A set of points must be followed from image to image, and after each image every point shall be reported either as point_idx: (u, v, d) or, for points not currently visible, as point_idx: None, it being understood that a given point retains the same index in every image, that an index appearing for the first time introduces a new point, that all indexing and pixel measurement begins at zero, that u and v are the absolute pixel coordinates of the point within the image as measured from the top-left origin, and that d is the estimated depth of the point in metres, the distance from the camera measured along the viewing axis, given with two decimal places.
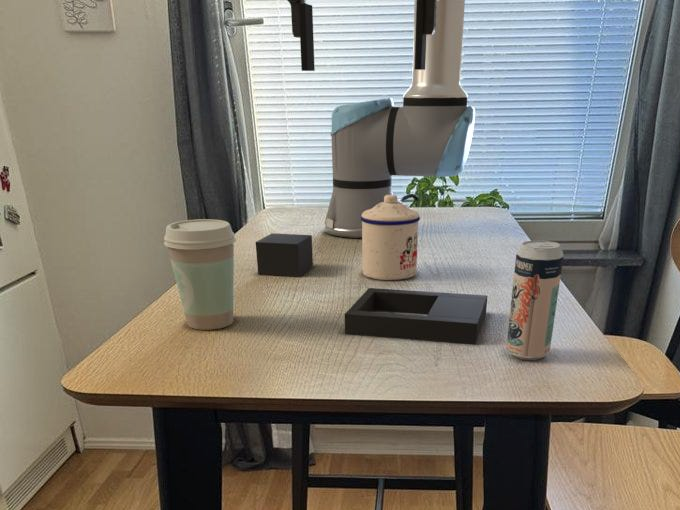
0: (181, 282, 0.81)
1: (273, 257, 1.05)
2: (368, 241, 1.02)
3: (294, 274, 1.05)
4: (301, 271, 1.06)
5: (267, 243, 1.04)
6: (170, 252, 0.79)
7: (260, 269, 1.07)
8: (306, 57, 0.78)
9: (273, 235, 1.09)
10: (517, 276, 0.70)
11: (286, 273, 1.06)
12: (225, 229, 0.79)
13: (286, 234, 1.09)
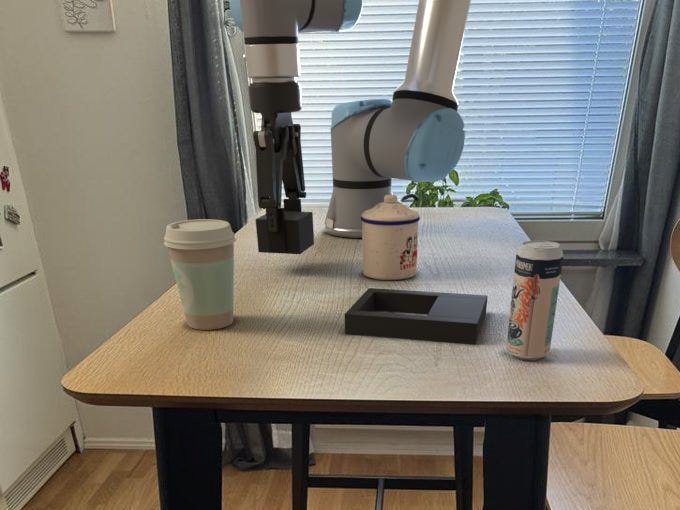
0: (181, 282, 0.81)
1: None
2: (368, 241, 1.02)
3: (295, 251, 1.04)
4: (302, 248, 1.05)
5: None
6: (170, 252, 0.79)
7: (260, 247, 1.05)
8: None
9: None
10: (517, 276, 0.70)
11: None
12: (225, 229, 0.79)
13: (286, 211, 1.08)
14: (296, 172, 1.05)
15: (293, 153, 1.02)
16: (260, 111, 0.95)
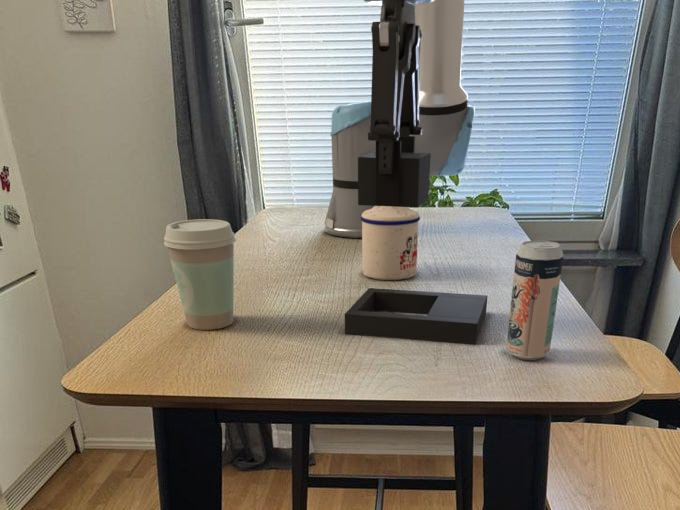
0: (181, 282, 0.81)
1: None
2: (368, 241, 1.02)
3: (410, 204, 0.75)
4: (419, 200, 0.76)
5: (375, 158, 0.74)
6: (170, 252, 0.79)
7: (362, 197, 0.76)
8: None
9: None
10: (517, 276, 0.70)
11: None
12: (225, 229, 0.79)
13: None
14: (413, 97, 0.76)
15: (414, 67, 0.73)
16: None
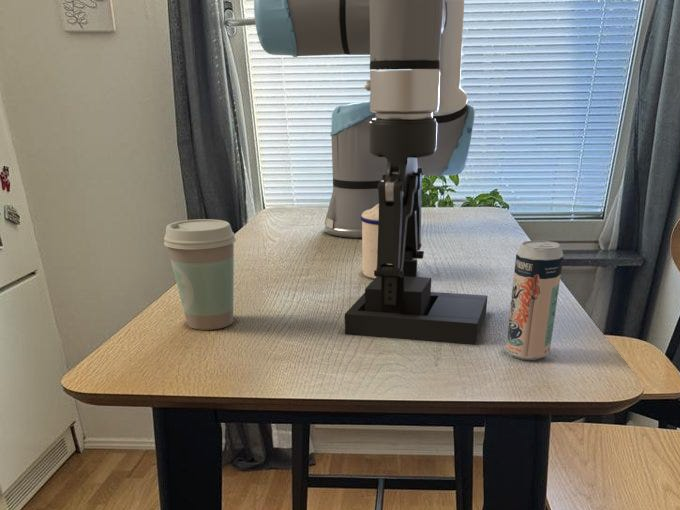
0: (181, 282, 0.81)
1: None
2: (368, 241, 1.02)
3: None
4: None
5: None
6: (170, 252, 0.79)
7: None
8: None
9: None
10: (517, 276, 0.70)
11: None
12: (225, 229, 0.79)
13: None
14: (416, 228, 0.83)
15: (416, 206, 0.80)
16: (386, 155, 0.73)
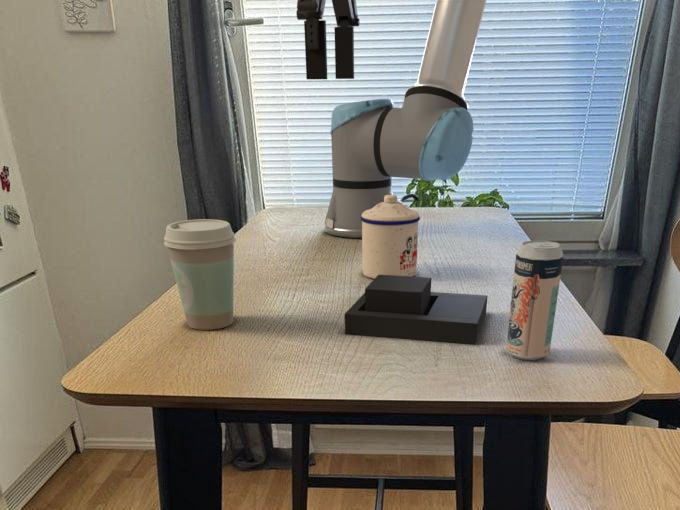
0: (181, 282, 0.81)
1: (388, 308, 0.82)
2: (368, 241, 1.02)
3: None
4: None
5: (381, 290, 0.81)
6: (170, 252, 0.79)
7: None
8: (335, 68, 1.00)
9: (382, 278, 0.85)
10: (517, 276, 0.70)
11: None
12: (225, 229, 0.79)
13: (398, 276, 0.86)
14: None
15: None
16: None
